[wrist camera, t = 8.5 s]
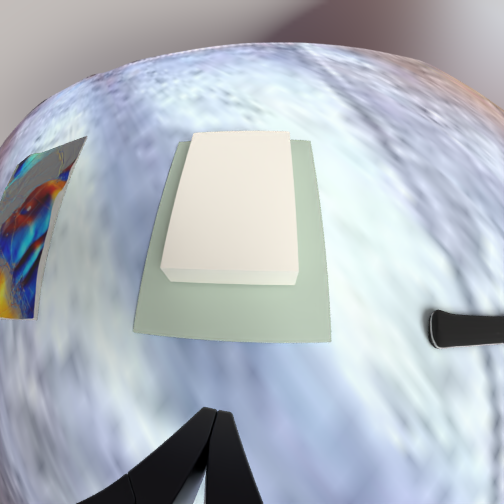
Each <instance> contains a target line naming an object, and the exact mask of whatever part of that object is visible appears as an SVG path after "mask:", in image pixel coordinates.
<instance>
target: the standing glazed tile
mask: <svg viewBox="0 0 504 504" xmlns="http://www.w3.org/2000/svg"><path fill="white" fill-rule="evenodd" d="M160 268H161V270H162V271H163V272H164V274H165V275H166V276H167V278H168V279H169V280H170V281H171V282H190V283H216V284H249V285H295V283H296V279H297V276H298V273H299V263H298V241H297V222H296V206H295V191H294V178H293V166H292V154H291V144H290V133H289V132H287V131H222V132H202V133H194V134H193V137H192V140H191V144H190V147H189V150H188V154H187V157H186V161H185V164H184V168H183V171H182V175H181V179H180V182H179V186H178V190H177V194H176V198H175V202H174V206H173V210H172V214H171V219H170V223H169V227H168V232H167V236H166V241H165V246H164V251H163V256H162V261H161V266H160Z"/></svg>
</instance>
